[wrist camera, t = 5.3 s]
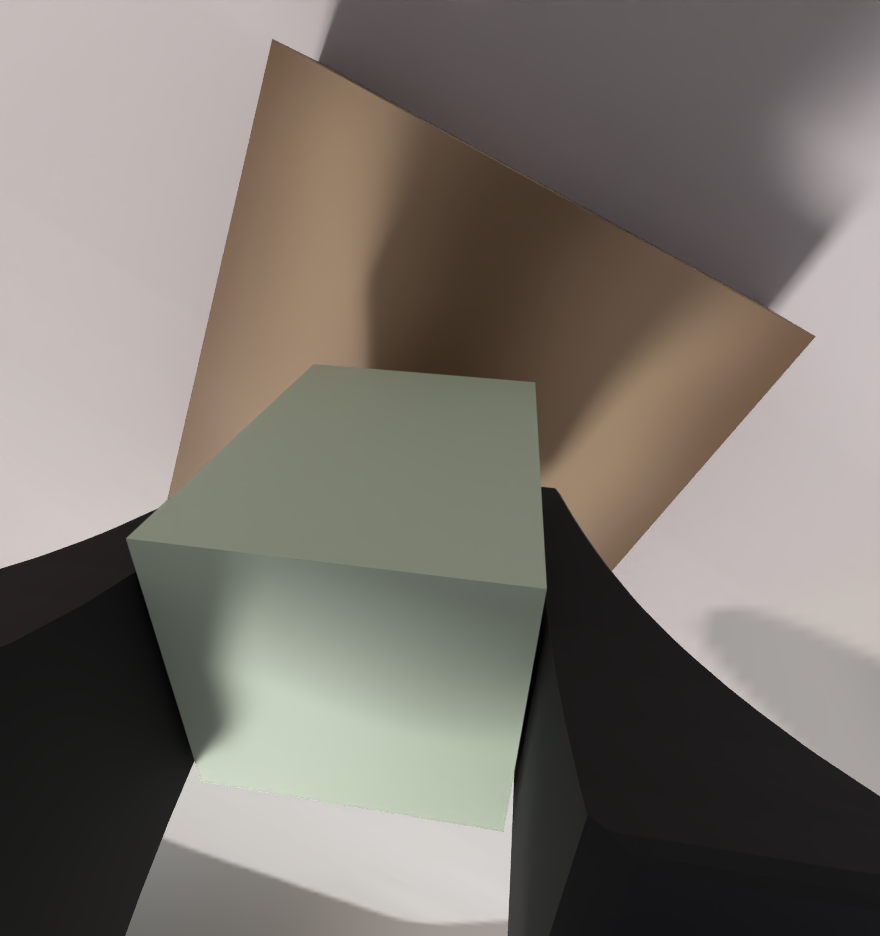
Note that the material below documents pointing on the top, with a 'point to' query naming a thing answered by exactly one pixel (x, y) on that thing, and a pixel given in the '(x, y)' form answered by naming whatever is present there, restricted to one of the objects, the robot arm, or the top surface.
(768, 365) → the walnut block
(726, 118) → the top surface
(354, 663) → the sage block
